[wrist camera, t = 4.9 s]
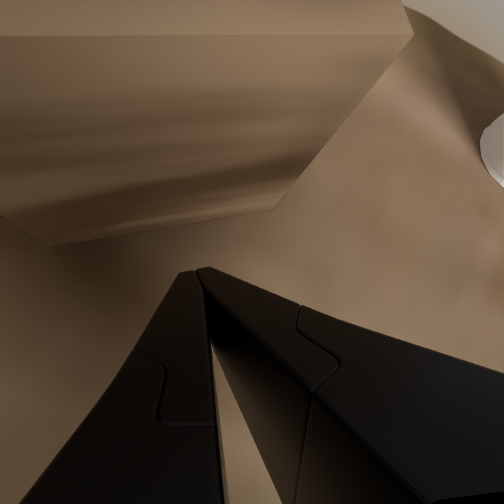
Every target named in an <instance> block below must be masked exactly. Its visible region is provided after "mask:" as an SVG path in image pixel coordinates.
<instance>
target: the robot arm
mask: <svg viewBox="0 0 504 504" xmlns="http://www.w3.org/2000/svg"><path fill="white" fill-rule="evenodd" d="M210 341H211V342H210ZM211 344H212V347H213V349H214V352H215V354H216V356H217V359H218V361H219V363H220V365H221V367H222V370H223V372H224V374H225V376H226V379H227V381H228V383H229V385H230V388H231V390H232V392H233V394H234V397H235V399H236V401H237V403H238V405H239V408H240V410H241V412H242V414H243V417H244V419H245V421H246V423H247V426H248V428H249V430H250V432H251V435H252V437H253V439H254V441H255V443H256V446H257V448H258V450H259V452H260V455H261V457H262V459H263V461H264V464H265V466H266V468H267V470H268V473H269V475H270V477H271V479H272V481H273V484H274V486H275V488H276V490H277V493H278V495H279V497H280V499H281V502H282V504H504V373H501V372H498V371H495V370H492V369H489V368H486V367H483V366H480V365H477V364H474V363H471V362H467V361H464V360H461V359H458V358H455V357H452V356H449V355H446V354H443V353H440V352H437V351H434V350H430V349H427V348H424V347H421V346H418V345H415V344H412V343H409V342H406V341H403V340H400V339H396V338H393V337H390V336H387V335H384V334H381V333H378V332H375V331H372V330H369V329H366V328H363V327H360V326H357V325H354V324H351V323H348V322H345V321H342V320H339V319H336V318H334V317H331V316H329V315H326V314H324V313H321V312H318V311H316V310H313V309H311V308H309V307H306V306H304V305H301V306H300V304H298V303H295V302H293V301H291V300H288V299H286V298H283V297H281V296H279V295H276V294H274V293H272V292H269V291H267V290H264V289H262V288H260V287H257V286H255V285H252V284H250V283H248V282H245V281H243V280H241V279H238V278H236V277H233V276H231V275H229V274H226V273H224V272H221V271H219V270H217V269H214V268H212V267H204V268H199V269H196V270H195V271H194V270H190V271H185V272H180V273H179V274H178V275H177V277H176V278H175V280H174V282H173V283H172V285H171V287H170V288H169V290H168V292H167V293H166V295H165V297H164V299H163V300H162V302H161V304H160V305H159V307H158V309H157V310H156V312H155V314H154V315H153V317H152V319H151V320H150V322H149V324H148V325H147V327H146V329H145V330H144V332H143V334H142V335H141V337H140V339H139V340H138V342H137V344H136V345H135V347H134V349H133V350H132V351H131V352H130V354H129V356H128V357H127V359H126V361H125V362H124V364H123V366H122V367H121V369H120V370H119V372H118V373H117V375H116V376H115V378H114V379H113V381H112V382H111V384H110V385H109V387H108V388H107V389H106V391H105V392H104V394H103V395H102V396H101V398H100V399H99V400H98V402H97V403H96V404H95V406H94V407H93V408H92V410H91V411H90V412H89V414H88V415H87V416H86V418H85V419H84V420H83V422H82V423H81V424H80V425H79V427H78V428H77V429H76V431H75V432H74V433H73V434H72V436H71V437H70V438H69V440H68V441H67V442H66V444H65V445H64V446H63V447H62V449H61V450H60V451H59V453H58V454H57V455H56V456H55V458H54V459H53V460H52V462H51V463H50V464H49V466H48V467H47V468H46V469H45V471H44V472H43V473H42V475H41V476H40V477H39V478H38V480H37V481H36V482H35V484H34V485H33V486H32V488H31V489H30V490H29V491H28V493H27V494H26V495H25V497H24V498H23V499H22V500H21V502H20V503H19V504H230V503H229V494H228V486H227V477H226V469H225V460H224V452H223V443H222V435H221V426H220V417H219V409H218V400H217V392H216V383H215V375H214V366H213V358H212V349H211Z"/></svg>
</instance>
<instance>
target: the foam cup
mask: <svg viewBox="0 0 504 504" xmlns="http://www.w3.org/2000/svg"><path fill="white" fill-rule="evenodd" d="M480 150H481V158H482V160H483V162H484V164H485V166H486V168H487V170H488V172H489V174H490V175H491V176H492V177H493V178H494V179H495V180H496V181H497V182H498V183H499V184H500V185H501V186H502V187H504V113H503V114H502V115H500V116H499V117H498V118H497V119H496V120H494V121H493V122H492V123H491V125H490V126H488V127H487V128H485V129H484V131H483V134H482V136H481V139H480Z"/></svg>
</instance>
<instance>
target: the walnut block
mask: <svg viewBox="0 0 504 504" xmlns="http://www.w3.org/2000/svg"><path fill="white" fill-rule="evenodd" d="M413 36H414V32H413V30H412V27H411V24H410V22H409V19H408V17H407V14H406V12H405V9H404V7H403V4H402V2H401V0H0V216H1V217H3V218H4V219H6V220H8V221H9V222H11V223H13V224H14V225H16V226H17V227H19V228H21V229H22V230H24V231H26V232H27V233H29V234H31V235H32V236H34V237H36V238H37V239H39V240H40V241H42V242H44V243H45V244H47V245H49V246H50V247H52V246H58V245H64V244H70V243H76V242H82V241H88V240H94V239H100V238H106V237H112V236H118V235H124V234H130V233H136V232H142V231H148V230H154V229H160V228H167V227H173V226H179V225H185V224H191V223H197V222H203V221H209V220H215V219H221V218H227V217H233V216H239V215H245V214H251V213H257V212H263V211H269V210H272V209H273V208H274V207H275V206H276V204H277V203H278V202H279V201H280V199H281V198H282V197H283V196H284V195H285V193H286V192H287V191H288V190H289V188H290V187H291V186H292V185H293V183H294V182H295V181H296V180H297V179H298V177H299V176H300V175H301V174H302V172H303V171H304V170H305V169H306V167H307V166H308V165H309V164H310V163H311V161H312V160H313V159H314V158H315V156H316V155H317V154H318V153H319V151H320V150H321V149H322V148H323V147H324V145H325V144H326V143H327V142H328V140H329V139H330V138H331V137H332V135H333V134H334V133H335V132H336V131H337V129H338V128H339V127H340V126H341V124H342V123H343V122H344V121H345V119H346V118H347V117H348V116H349V115H350V113H351V112H352V111H353V110H354V108H355V107H356V106H357V105H358V103H359V102H360V101H361V100H362V99H363V97H364V96H365V95H366V94H367V92H368V91H369V90H370V89H371V87H372V86H373V85H374V84H375V83H376V81H377V80H378V79H379V78H380V76H381V75H382V74H383V73H384V71H385V70H386V69H387V68H388V67H389V65H390V64H391V63H392V62H393V60H394V59H395V58H396V57H397V55H398V54H399V53H400V52H401V51H402V49H403V48H404V47H405V46H406V44H407V43H408V42H409V41H410V39H411V38H412V37H413Z"/></svg>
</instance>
